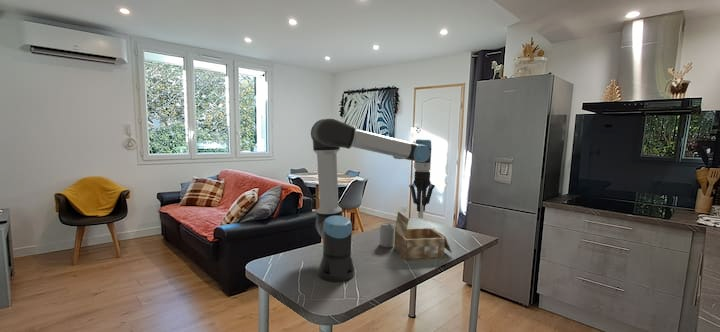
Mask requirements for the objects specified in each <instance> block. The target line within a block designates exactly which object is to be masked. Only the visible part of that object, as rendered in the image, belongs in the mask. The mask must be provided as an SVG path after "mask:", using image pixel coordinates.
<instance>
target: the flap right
mask: <svg viewBox="0 0 720 332" xmlns="http://www.w3.org/2000/svg"><path fill="white" fill-rule="evenodd" d="M431 229H433V230H434V231H436V232H437V233H439V234H440V235H441V236H443V237H444V238H445V246H444V249H446V250H447V251H448V252H449V253H451V254H452V253H453V252H452V249H451V247H450V244H449V241H448V239H447V237H446V236H445V235H444V234H442V233H441V232H439V231H438V230H436V229H435V228H431Z"/></svg>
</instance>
